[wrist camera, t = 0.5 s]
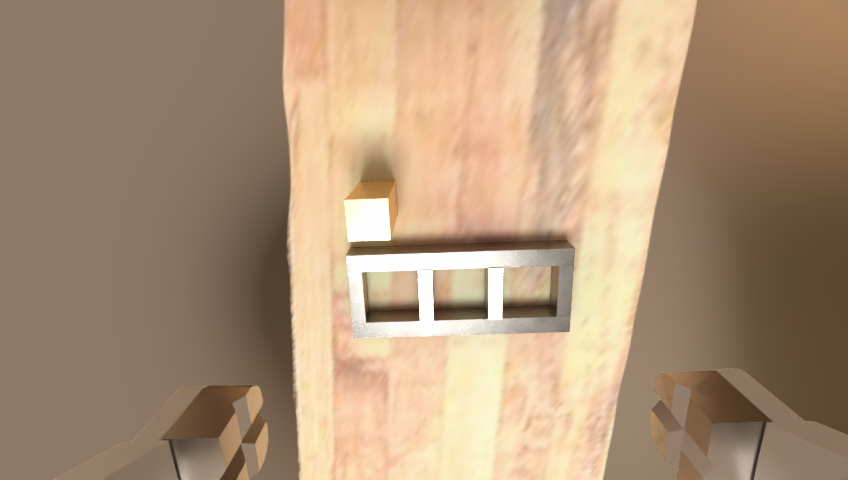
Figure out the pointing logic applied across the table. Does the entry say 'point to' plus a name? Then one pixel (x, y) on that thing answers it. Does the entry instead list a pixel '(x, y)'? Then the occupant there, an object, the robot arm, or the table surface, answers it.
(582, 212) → the table surface
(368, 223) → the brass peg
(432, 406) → the table surface
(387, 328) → the grey compartment tray
